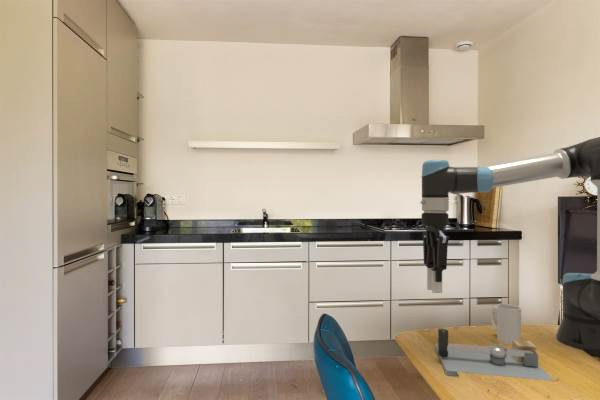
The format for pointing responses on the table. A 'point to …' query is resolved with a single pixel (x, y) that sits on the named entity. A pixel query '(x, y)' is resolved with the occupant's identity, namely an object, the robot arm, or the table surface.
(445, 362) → the base
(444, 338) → the lever
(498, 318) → the mug
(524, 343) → the block
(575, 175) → the robot arm
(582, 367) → the table surface
